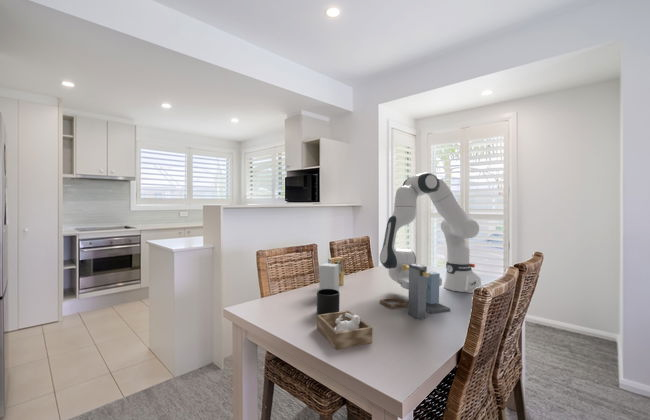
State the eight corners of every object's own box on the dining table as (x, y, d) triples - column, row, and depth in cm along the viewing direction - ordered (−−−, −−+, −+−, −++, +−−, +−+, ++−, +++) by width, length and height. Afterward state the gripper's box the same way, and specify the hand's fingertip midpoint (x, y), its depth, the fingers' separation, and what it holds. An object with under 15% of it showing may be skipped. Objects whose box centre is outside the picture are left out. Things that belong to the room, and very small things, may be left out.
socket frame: (396, 299, 146) (396, 297, 146) (409, 306, 137) (409, 303, 137) (379, 301, 142) (379, 299, 142) (391, 308, 133) (391, 306, 133)
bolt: (406, 269, 133) (406, 264, 133) (430, 277, 119) (430, 271, 119) (402, 270, 132) (402, 264, 132) (425, 278, 118) (425, 272, 118)
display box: (348, 323, 117) (349, 310, 117) (372, 342, 101) (372, 327, 101) (317, 328, 112) (317, 315, 112) (336, 349, 96) (336, 333, 96)
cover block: (431, 299, 138) (432, 271, 138) (438, 302, 134) (439, 273, 134) (423, 300, 136) (424, 272, 136) (430, 304, 132) (431, 274, 132)
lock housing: (415, 313, 128) (416, 263, 128) (425, 318, 123) (426, 266, 122) (408, 314, 127) (409, 264, 126) (417, 319, 121) (418, 267, 121)
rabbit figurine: (365, 334, 108) (365, 307, 108) (367, 344, 101) (367, 315, 100) (331, 334, 109) (331, 307, 108) (331, 344, 101) (331, 315, 101)
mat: (430, 302, 143) (430, 299, 143) (450, 310, 132) (450, 308, 132) (413, 304, 139) (413, 302, 139) (432, 313, 128) (432, 311, 128)
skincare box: (339, 295, 152) (339, 264, 152) (333, 298, 146) (333, 266, 146) (324, 292, 156) (324, 262, 155) (318, 296, 150) (318, 264, 150)
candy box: (339, 283, 174) (339, 256, 174) (344, 284, 171) (344, 257, 171) (327, 285, 169) (327, 258, 168) (332, 287, 166) (332, 259, 165)
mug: (343, 309, 132) (343, 288, 132) (335, 319, 121) (335, 296, 121) (323, 306, 135) (323, 286, 135) (313, 315, 124) (313, 294, 124)
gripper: (395, 274, 143) (414, 281, 130) (429, 271, 151) (450, 277, 138) (394, 287, 143) (413, 296, 130) (429, 283, 151) (450, 291, 138)
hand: (433, 286), depth 134 cm, fingers closed on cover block, 4 cm apart
